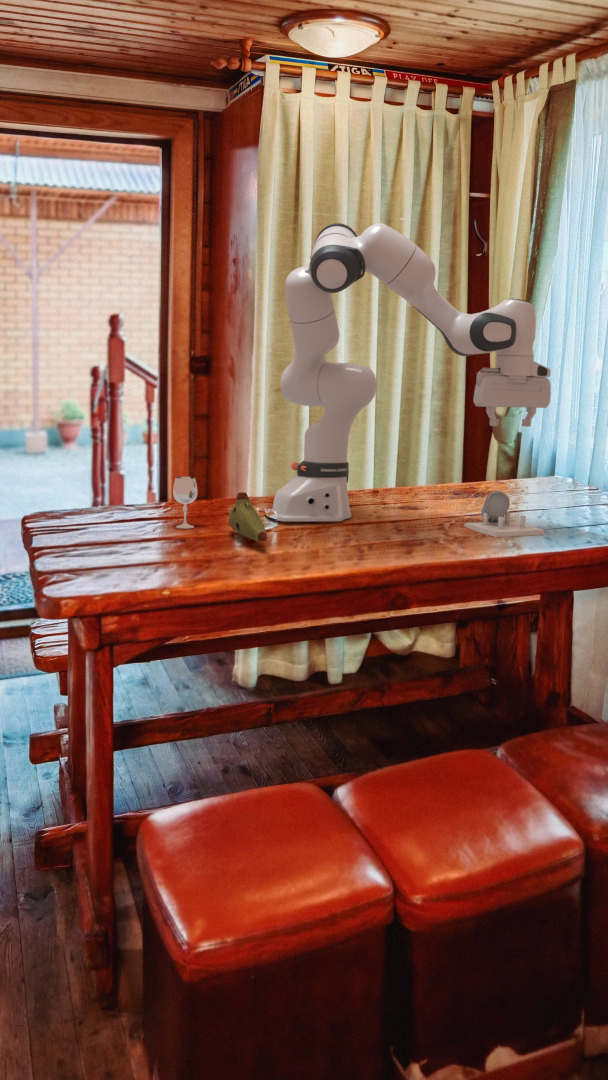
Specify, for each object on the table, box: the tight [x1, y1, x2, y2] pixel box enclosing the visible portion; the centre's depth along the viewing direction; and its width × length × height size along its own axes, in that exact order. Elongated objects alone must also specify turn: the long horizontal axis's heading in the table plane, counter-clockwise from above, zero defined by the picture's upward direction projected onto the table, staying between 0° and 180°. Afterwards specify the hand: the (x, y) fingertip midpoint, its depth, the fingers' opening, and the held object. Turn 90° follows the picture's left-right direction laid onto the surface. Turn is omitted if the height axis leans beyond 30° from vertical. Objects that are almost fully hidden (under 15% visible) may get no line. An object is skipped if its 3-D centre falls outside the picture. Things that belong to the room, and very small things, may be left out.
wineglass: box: [172, 476, 198, 529], centre depth 217 cm, size 6×6×12 cm
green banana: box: [228, 491, 268, 542], centre depth 206 cm, size 20×5×10 cm, turn 27°
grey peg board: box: [463, 511, 545, 538], centre depth 224 cm, size 14×14×4 cm
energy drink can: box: [480, 490, 511, 522], centre depth 230 cm, size 6×6×15 cm
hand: (510, 426), depth 220 cm, fingers open, 8 cm apart
